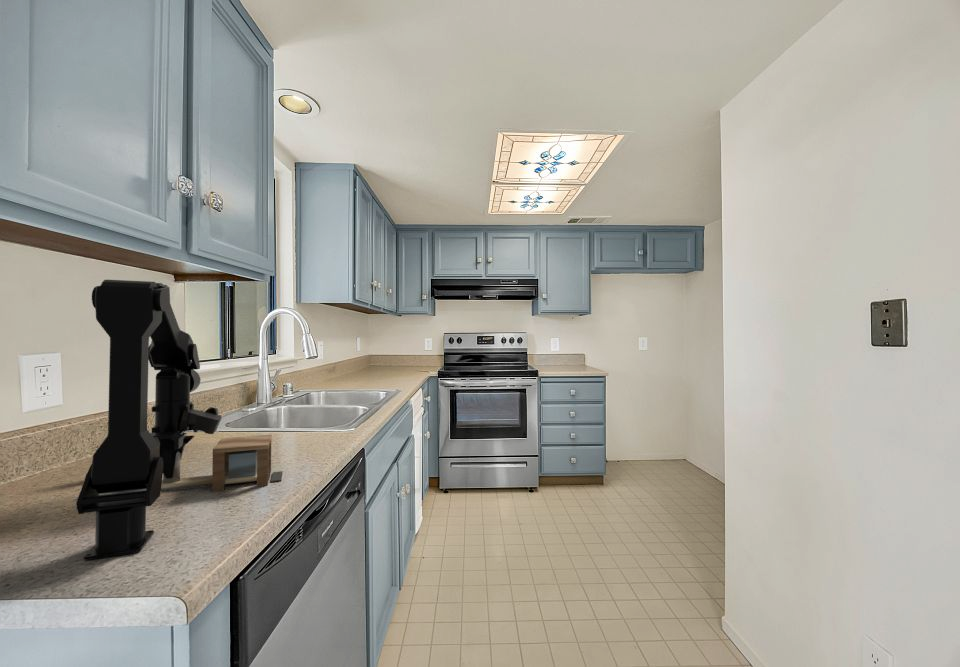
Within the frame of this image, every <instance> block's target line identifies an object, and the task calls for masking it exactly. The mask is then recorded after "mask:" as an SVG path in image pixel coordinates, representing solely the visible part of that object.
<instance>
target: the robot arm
mask: <svg viewBox="0 0 960 667" xmlns="http://www.w3.org/2000/svg"><path fill="white" fill-rule="evenodd" d="M170 291H171V290H170V286H168V285H167V284H163V283H162V282H155V281H145V280H127V279H126V280H123V279H104V280H103V281H102V282H101V284H100V285H97V286H94V288H93V289H92V292H91V303H92V306H93V308H94V309H95V319H96V322H98V324H99V325H100V327H101V328H102V329H103V330H104V332H105V333H106V334H107V336H108V337H109V369H108V370H109V372H108V373H109V374H108V375H109V376H108V378H109V379H108V410H107V411H108V413H107V415H108V416H107V418H108V420H107V424H108V425H107V436H106V437H105V438H104V440H103V441H102V442H101V444H100V445H99V447H98V448H97V449H96V451H95V452H94V453H93V454H92V462H91V464H90V466H89V468H88V470H87V472H86V473H85V477H84V480H83V483H82V486H81V489H80V492H79V493H78V494H79V495H78V497H77V499H76V502H75V503H76V510H77V515H84V514H89V513H95V532H94V533H95V534H94V535H95V536H94V538H95V541H94V542H95V543H94V546H92V547H91V548H90V549H88V551H87V552H86V553H85V555H84V556H83V560H84V561H87V560H96V559H99V558H101V559H102V558H105V557H106V558H107V557H108V558H109V557H114V556H120V555H128V554H134V553H139V552H141V551H142V550H143V549H144V547H145V546H146V545H147V544H148V542H149V541H150V539H151V538H152V537H153V535H154V534H155V530H154V529H153V530H151V529H150V530H147V529H146V526H147V524H146V522H147V507H151V506H153V504H154V503H155V502H156V501H158V499H159V498H160V497H161V492H162V491H161V484H162V480H163V474H164V476H165V477H166V478H167V479H168V478H172V477H173V475H174V471H175V466H176V461H177V456H178V453H180V462H181V460H182V458H183V453H184V450H185V448H186V446H187V444H188V443H189V442H191V440H193V438H195V435H188V433H187V432H189V431H193V433H198V432H203V433H205V434H208V435H213V434H215V432H217V429H218V427H219V425H220V422H221V420H222V418H223V416H222V415H221V414H219V411H218V408H217V407H212V406H209V407H208V409H206V410H203V409H201V410H198V409H194V405H195V404H194V403H193V402H192V401H190V396H191V395H190V393H192V392H194V391H195V390H197V389H198V388H199V386H200V384H201V377H200V375H199V372H197V370H200V369H201V364H200V358H199V352H198V347H197V344H196V343H194V341H193V339H192V337H191V335H190V333H188V332H185V331H183V330H181V328H180V326H179V324H178V321H177V318H176V315H175V313H174V312H175V311H174V310H173V307H172V304H171V296H170V295H171V294H170ZM150 339H151V341H150ZM149 342H151V343H149ZM149 365H150V367H151V368H153V369H154V371H158V372H157V373H156V375H155V397H154V398H155V402H154V404H155V405H153V406H151V412H152V413H154V426H152V427H151V432H150V431H149V430H148V401H149V400H148V396H149V395H148V394H149V393H148V392H149ZM141 489H147V490H146V491H142V492H133V493H123V494H114V495H105V496H99V494H103V493H112V492H122V491H131V490H141Z"/></svg>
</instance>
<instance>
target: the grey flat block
mask: <svg viewBox="0 0 960 667" xmlns="http://www.w3.org/2000/svg"><path fill="white" fill-rule="evenodd" d="M283 474H284V472H283V471H282V470H280V471H273V472H272V475H271V478H270V483H277V482H278V483H279V482H282V477H283Z"/></svg>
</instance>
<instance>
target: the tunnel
mask: <svg viewBox="0 0 960 667" xmlns="http://www.w3.org/2000/svg"><path fill="white" fill-rule="evenodd" d="M246 450H257V481H256V487H265V486H268V485H269V480H268V474H270V473H272V434H263V435H250V436H249V435H248V436H246V435H245V436H237V437H235V436H234V437H223V438H220V440H219V441H218V442H217V443H216V445H214V447H213V448H212V474H211V475H212V486H211V488H212V489H211V490H212V491H211V492H212V493H213V492H221V491H225V472H229V454H230V452H234V451H246Z"/></svg>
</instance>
